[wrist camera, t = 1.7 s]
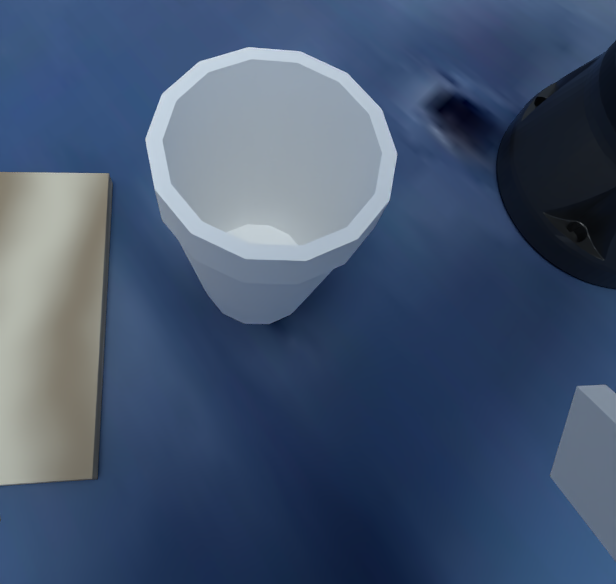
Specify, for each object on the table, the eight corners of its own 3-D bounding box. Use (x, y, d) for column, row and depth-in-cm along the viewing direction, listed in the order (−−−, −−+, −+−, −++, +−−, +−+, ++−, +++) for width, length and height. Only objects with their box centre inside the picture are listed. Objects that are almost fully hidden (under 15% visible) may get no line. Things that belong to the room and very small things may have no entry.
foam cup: (201, 187, 34) (188, 22, 22) (346, 223, 35) (409, 80, 23) (156, 331, 31) (112, 227, 19) (317, 368, 32) (374, 290, 20)
